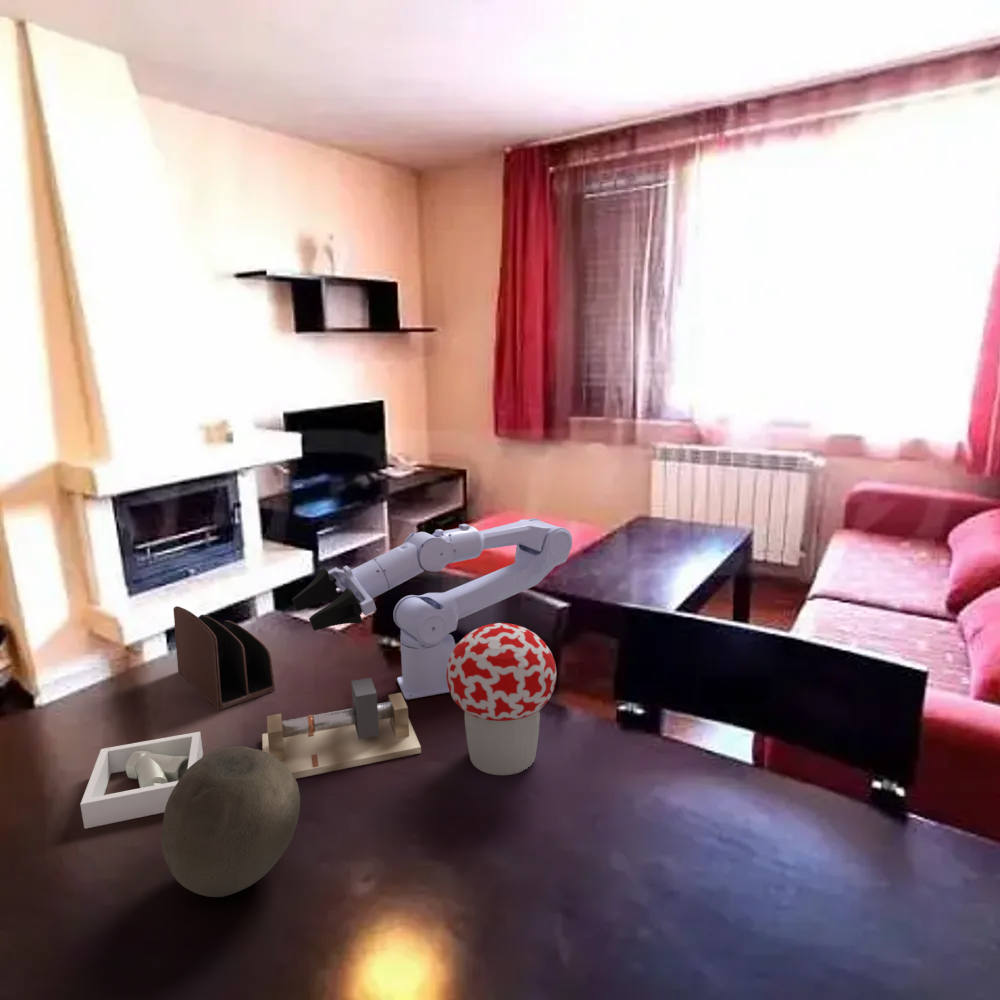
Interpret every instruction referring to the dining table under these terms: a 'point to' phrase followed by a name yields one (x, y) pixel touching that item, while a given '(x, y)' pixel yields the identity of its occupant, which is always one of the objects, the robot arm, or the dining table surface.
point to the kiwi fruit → (229, 820)
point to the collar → (365, 708)
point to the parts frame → (134, 801)
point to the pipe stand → (342, 744)
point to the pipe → (329, 720)
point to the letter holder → (221, 659)
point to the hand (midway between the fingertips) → (302, 614)
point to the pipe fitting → (155, 768)
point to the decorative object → (501, 694)
